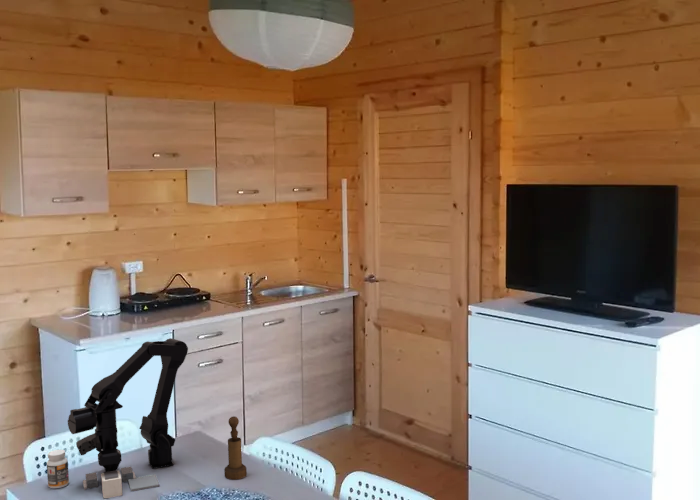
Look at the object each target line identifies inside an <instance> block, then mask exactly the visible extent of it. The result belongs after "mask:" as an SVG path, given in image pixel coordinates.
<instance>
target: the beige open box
mask: <svg viewBox="0 0 700 500" xmlns="http://www.w3.org/2000/svg"><path fill="white" fill-rule="evenodd" d="M100 476H101V478H100V479H101V491H102V496H103V499H109V498H114V497H120V496H123V485H122V484H123V481H122V477H121V470H118V469H117V470H115V471H109V472H106V471H104V472H102V473H101V474H100Z"/></svg>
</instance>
